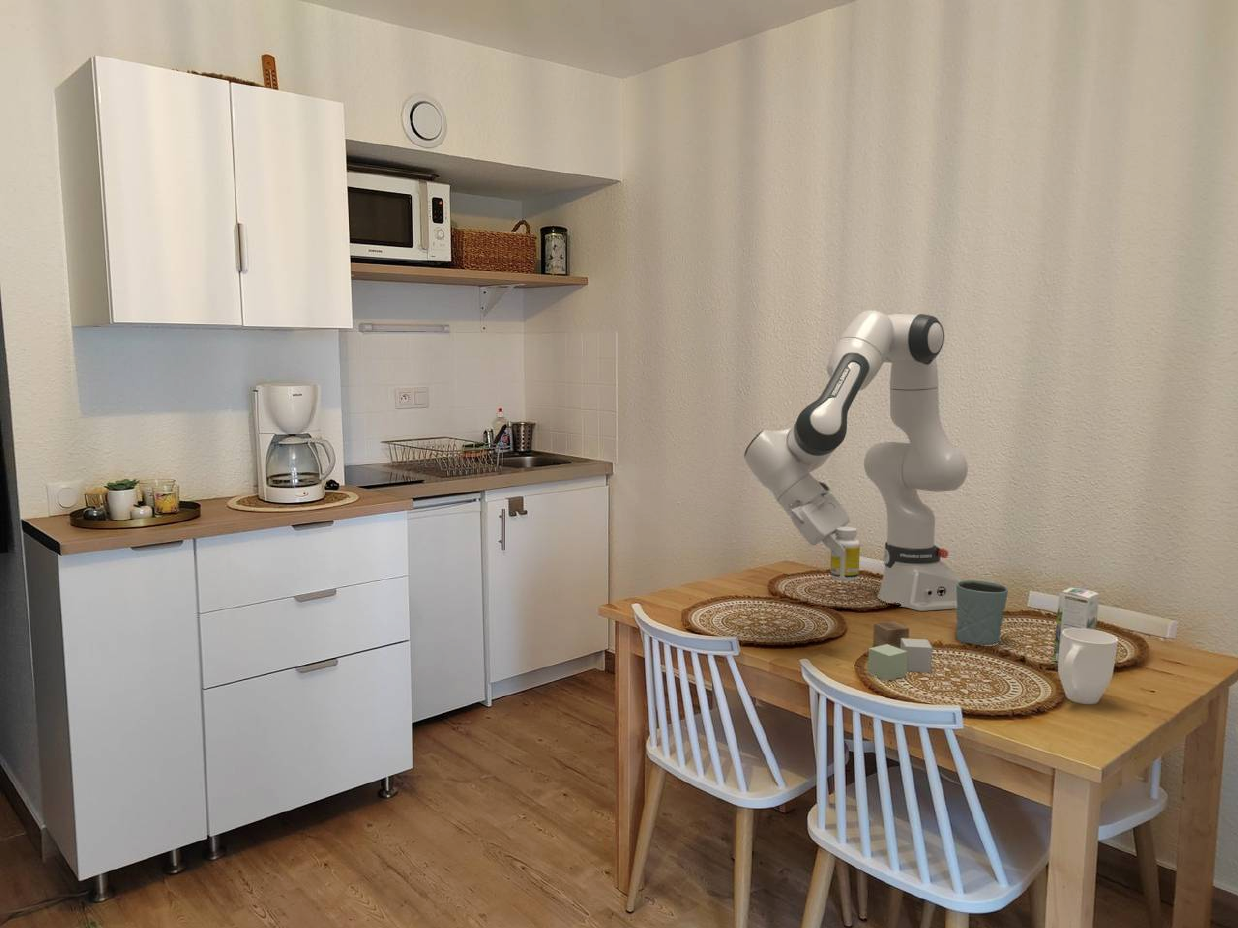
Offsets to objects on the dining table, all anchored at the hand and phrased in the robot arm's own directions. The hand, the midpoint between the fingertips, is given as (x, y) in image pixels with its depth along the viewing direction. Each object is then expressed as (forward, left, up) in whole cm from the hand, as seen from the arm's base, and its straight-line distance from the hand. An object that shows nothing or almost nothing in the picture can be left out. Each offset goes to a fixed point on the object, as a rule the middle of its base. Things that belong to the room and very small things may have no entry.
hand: (848, 550), depth 182 cm
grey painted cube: (-11, +9, -21) cm, 26 cm away
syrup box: (-44, +7, -21) cm, 50 cm away
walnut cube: (-10, -2, -21) cm, 24 cm away
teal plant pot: (-31, -7, -21) cm, 39 cm away
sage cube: (-4, +13, -21) cm, 25 cm away
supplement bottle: (+1, 0, -6) cm, 6 cm away
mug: (-34, +27, -21) cm, 49 cm away
